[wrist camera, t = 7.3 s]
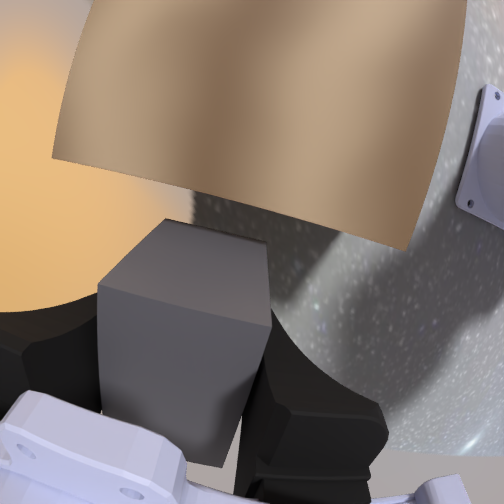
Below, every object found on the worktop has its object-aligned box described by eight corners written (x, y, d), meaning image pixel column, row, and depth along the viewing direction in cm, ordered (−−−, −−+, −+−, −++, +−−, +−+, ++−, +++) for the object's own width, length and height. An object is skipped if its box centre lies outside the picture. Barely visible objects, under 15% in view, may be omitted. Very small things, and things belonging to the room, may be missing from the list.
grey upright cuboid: (266, 241, 13) (272, 326, 7) (233, 361, 15) (222, 467, 9) (165, 218, 12) (97, 283, 7) (149, 341, 14) (105, 438, 9)
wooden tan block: (458, -38, 7) (468, -46, 6) (395, 242, 12) (405, 251, 11) (170, -113, 6) (165, -124, 5) (65, 155, 11) (51, 158, 10)
